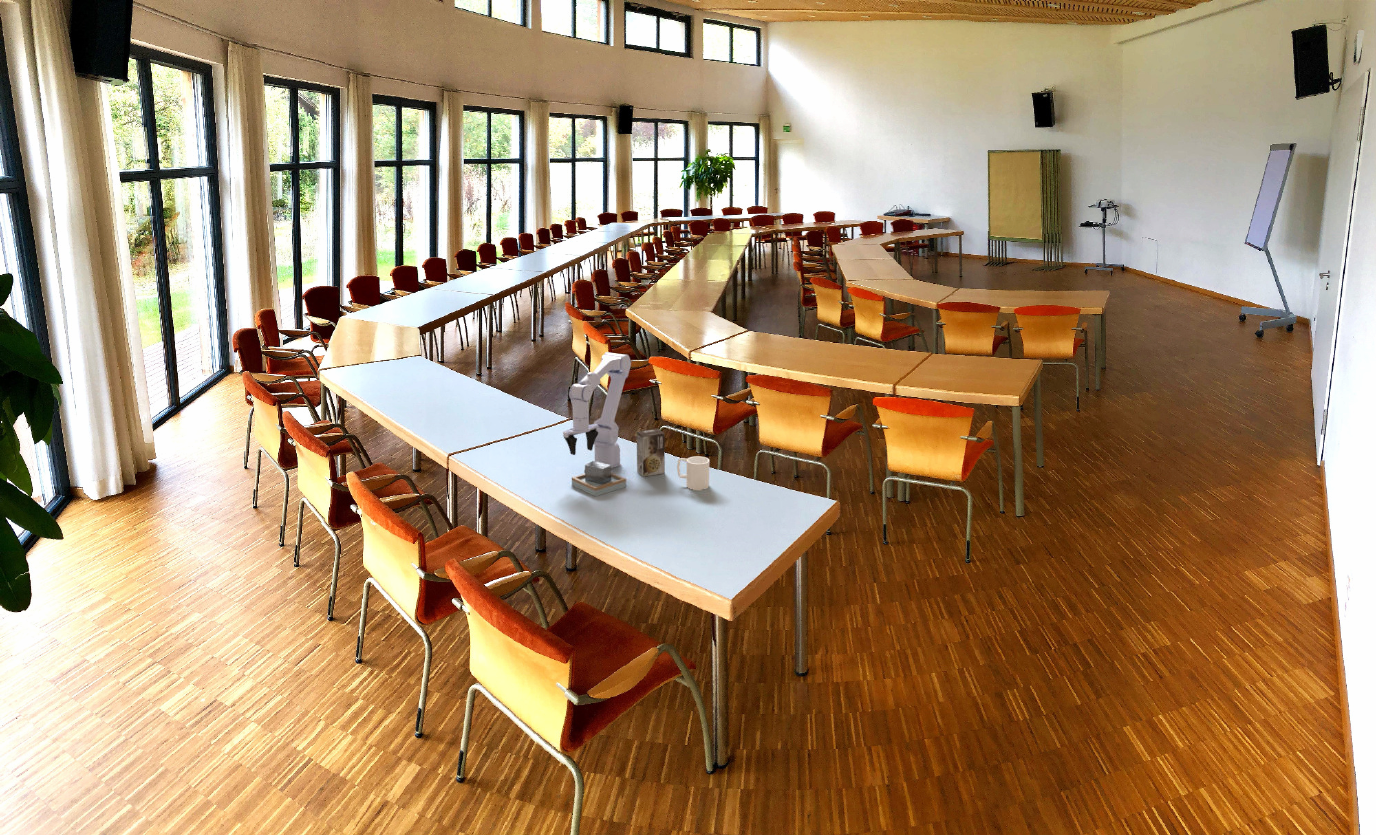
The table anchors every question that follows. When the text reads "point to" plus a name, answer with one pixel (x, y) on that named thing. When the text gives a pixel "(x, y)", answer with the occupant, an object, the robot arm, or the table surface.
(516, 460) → the table surface
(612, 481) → the square tray
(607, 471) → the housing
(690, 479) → the cup
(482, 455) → the table surface
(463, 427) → the table surface
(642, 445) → the coffee box
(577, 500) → the table surface
